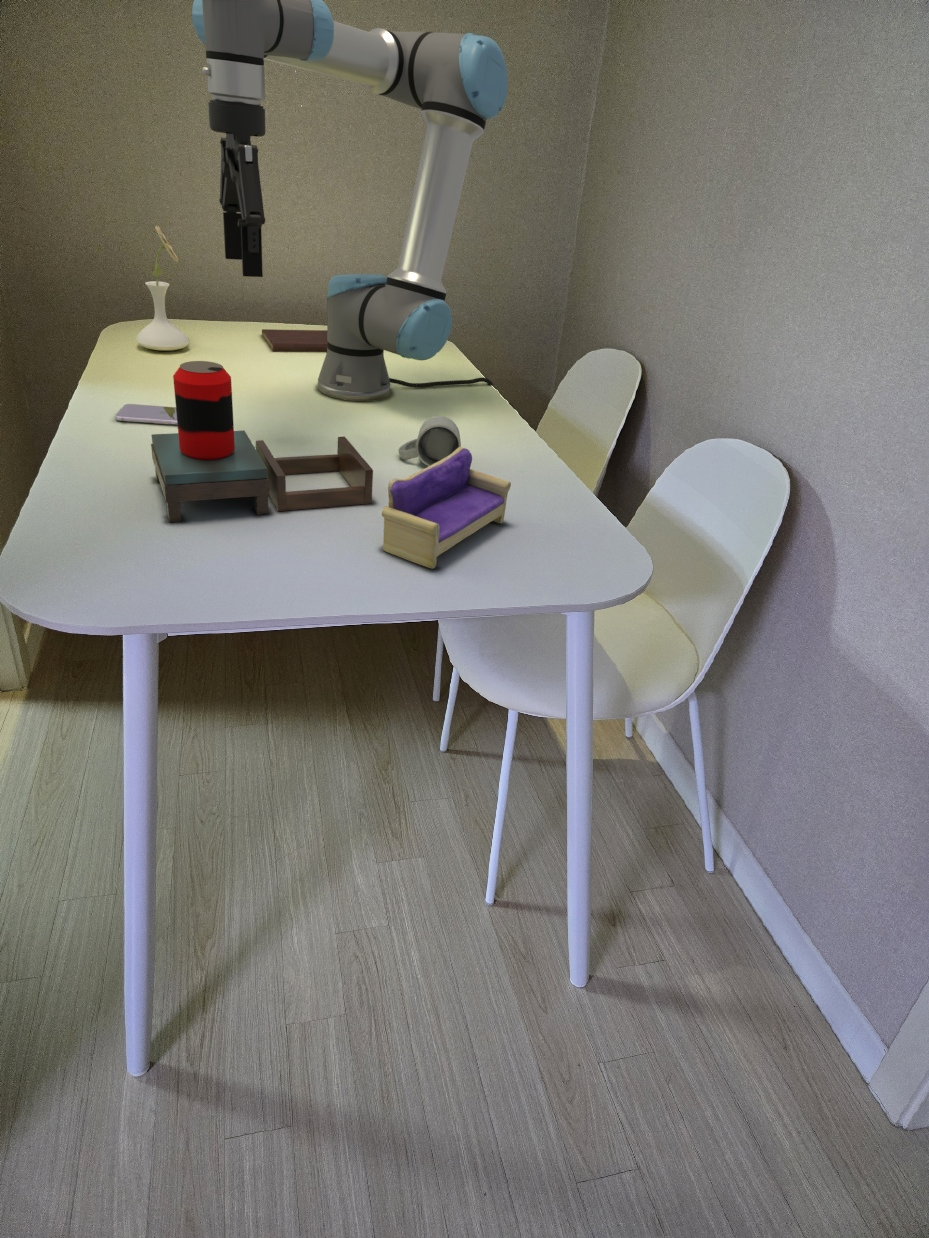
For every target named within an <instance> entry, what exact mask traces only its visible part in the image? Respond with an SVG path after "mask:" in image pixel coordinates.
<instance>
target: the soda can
mask: <svg viewBox="0 0 929 1238" xmlns="http://www.w3.org/2000/svg"><path fill="white" fill-rule="evenodd" d="M172 379H173V390H174V400H175V401H174V402H175V407H176V413H177V424H178V425H177V433H178V435H179V446H180V450H181V452H182V453H183V454H184V455H186V456H188V457H191V458H194V459H200V460H215V459H221V458H225V457H227V456H229V455H231V454H232V453H233V451H234V449H235V443H234V431H235V427H234V408H233V387H232V376H231V375H230V373H228V372H227V370H226V369H225V368H224V366H223V365H222V364H220V363H217V362H213V361H208V360H194V361H193V360H192V361H186V362H182V363H181V364H180V365H179V366H178V368H177V369H176V371H175V372H174V374H173V376H172Z"/></svg>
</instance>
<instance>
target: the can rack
mask: <svg viewBox="0 0 929 1238" xmlns="http://www.w3.org/2000/svg"><path fill="white" fill-rule="evenodd" d="M255 449H256V451H257V453H258V454H259V456H260V458H261V459H262V461H263V463H264V464H265V466H266V468H267V476H268V478H269V492H270V495H268V497H269V498H270V500H271V501H272V503H273V505H274V507H275V509H276V510H277V512H287V511H299V510H308V509H309V510H310V509H311V510H312V509H320V508H321V509H323V508H334V507H345V506H347V507H348V506H357V505H368V504H372V501H373V483H374V482H373V481H374V480H373V478H374V477H373V476H374V469H373V468H372V467H371V466H370V465H369V463H368V462H367V461H366V460H365V458H364V457H363V456H362V455H361V454H360V453H359V452H358V450H357V449H356V448H355V447H354V445H353V444H352V443H351V442H350V441H349V440H348V439H347V437H346V436H343V435H342V436H337V450H336V451H337V453H336V454H319V455H318V454H316V455H301V456H299V455H297V456H282V457H281V456H280V457H274V455H273V453H272V452H271V450H270V449H269V447H268V446H267V444H266V442H265V441H264V439H262V440H261V439H259V440H258V439H257V440H255ZM329 472H331V473H332V472H339V473H340V474H341V476H342V477H343V479H344V480H345V481H346V482H347V483H348V485H349V486H345V487H331V488H329V487H328V488H320V489H319V488H317V489H305V490H292V491H291V490H290V491H286V490H287V487H286V486H287V484H286V480H287V479H286V475H297V474H314V473H329Z"/></svg>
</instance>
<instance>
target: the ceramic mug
mask: <svg viewBox="0 0 929 1238" xmlns="http://www.w3.org/2000/svg"><path fill="white" fill-rule="evenodd" d="M461 440H462V439H461V433H460V430H459V427H458V425H457V424H456V423H455V421H453V420H452V419H451V418H450V417H447V416H444V415H435V416H434V415H433V416H431V417H429V418H428V419H426V420H425V421H424V422H423V423H422V425H421V426H420V427H419V430H418V435H417V438H415V439H413V440H409V441H407V442H405V443H404V444H402V445H401V446H400V447H399V448H398V449H397V450H398V454H399V457H400V459H402V460H411V459H415V458H418V459H419V460H420V461H421V462H422V463H423V464H424V465H425V466H426V467H429V466H431V465H433V464H435V463H436V462H438V461H440V460H442V459H444V458H446V457H447V456H449V455H450V454H452V453H453V452H454V451H455V450H456V449H457V448H459V447H462V443H461V442H462V441H461Z"/></svg>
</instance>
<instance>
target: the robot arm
mask: <svg viewBox="0 0 929 1238" xmlns="http://www.w3.org/2000/svg"><path fill="white" fill-rule="evenodd" d="M191 21H192V25H193V29H194V31H195V34H196V36H197V38H198V39H199V40H200V42H201V43H202V44H204V47H205V58H206V66H203V67H202V69H201V71H202V75H203V76H205V77H207V92H208V94H209V95H212V99H209V101H208V102H207V104H208V121H209V122H208V123H209V129H210V130H211V131H213V132H215V133H220V134H225V137H223V136H221V137H220V140H219V144H220V177H219V178H220V179H219V180H220V181H219V182H220V183H219V185H220V186H219V199H218V201H219V204H220V206H221V209H222V211H223V212H222V219H223V239H224V240H223V241H224V258H225V260H238V261H241V267H242V268H241V269H242V270H241V271H242V277H246V278H247V277H249V278H251V277H252V278H263V277H264V276H263V274H264V273H263V243H262V242H263V241H262V236H263V235H262V227H263V225H265V223H266V217H265V209H264V202H263V193H262V184H261V176H260V168H259V167H260V165H259V154H258V153H259V148H258V145H257V144H256V145H254V144H252V141H251V137H256V138H257V137H259V138H260V137H264V136H265V135H266V108H264V106H263V105H262V104H261V103H262V101H265V100H266V82H265V81H266V80H265V79H266V77H265V76H266V75H265V60H266V61H269V62H274V63H277V64H282V65H285V66H288V67H289V66H290V67H293V68H296V69H301V70H304V71H309V72H313V73H316V74H321V75H325V76H329V77H334V78H338V79H341V80H345V81H350V82H354V83H358V84H362V86H363V87H364V89H366V91H368V93H372V94H374V95H378V96H381V97H385V98H388V99H390V100H394V101H396V102H399V103H401V104H404V105H407V106H410V107H412V108H416V109H420V110H421V111H420V116H421V118H422V120H423V122H424V124H425V126H426V130H425V134H424V138H423V143H422V148H421V152H420V158H419V162H418V168H417V172H416V177H415V182H414V185H413V186H414V187H413V190H412V191H413V192H412V197H411V201H410V205H409V210H408V216H407V219H406V225H405V230H404V234H403V239H402V244H401V249H400V254H399V258H398V263H397V268H395V270H393V271H391V272H390V273H389V274H387V276H385V275H383V274H377V273H347V274H346V273H345V274H337V275H334V276H332V277H331V278H330V280H328V281H329V282H328V287H327V296H326V300H327V301H326V320H327V321H326V324H327V325H326V328H327V329H326V330H327V352H326V353H325V354H326V355H325V357H324V359H323V363H322V366H321V369H320V370H319V371H320V372H319V375H318V378H317V390H318V391H319V392H320V393H322V394H323V395H325V396H327V397H331V398H334V399H338V400H344V401H350V402H351V401H352V402H372V401H379V400H382V399H386V398H387V397H389V396H390V395H391V385H392V384H395V385H396V384H397V385H399V386H403V387H408V388H414V389H415V388H416V389H417V388H418V389H419V388H430V387H441V386H443V387H444V386H457V385H474V384H476V383H486V384H487V386H494V383H493V382H492V381H491V380H490V379H489V378H487V377H476V378H472V379H457V380H439V381H429V382H408V381H405V380H401V379H398V378H397V379H396V378H392V377H390V376H389V372H388V368H387V364H386V361H385V355H384V351H386V352H388V353H392V354H395V355H397V356H400V357H401V358H404V359H408V360H409V359H412V360H416V361H427V360H430V359H432V358H434V357H435V356H436V355H437V354H438V353H440V352H441V350H442V349H443V348H444V347H445V345H446V343H447V341H448V339H449V337H450V335H451V332H452V329H453V328H452V327H453V316H452V310H451V307H450V306H449V304H448V303H446V302H445V301H446V296H447V290H446V288H445V286H444V284H443V280H442V279H443V275H444V270H445V265H446V261H447V257H448V253H449V250H450V249H449V248H450V244H451V240H452V235H453V230H454V226H455V222H456V218H457V213H458V209H459V204H460V200H461V195H462V191H463V187H464V183H465V178H466V173H467V170H468V169H467V168H468V164H469V161H470V157H471V152H472V147H473V143H474V141H475V140H477V139H478V138H480V137H481V136H483V135H484V133H485V129H486V124H487V120H489V119H493V118H495V117H496V116H498V115H499V113H500V112H501V111H502V110H503V107H504V106H505V104H506V99H507V95H508V87H509V85H508V84H509V78H508V77H509V76H508V68H507V65H506V59H505V56H504V54H503V51H502V49H501V47H500V46H499V44H497V42H496V41H495V40H493V39H492V38H491V37H489V36H485V35H480V34H479V35H478V34H475V33H474V32H466V33H457V32H455V33H453V32H452V33H451V32H439V31H438V32H437V31H435V32H433V31H394V30H393V31H392V30H389V29H385V28H381V27H375V28H373V29H371V30H370V31H367V30H365V29H361V28H358V27H355V26H352V25H348V24H345V23H342V22H339V21H336V20H334V18H333V15H332V11H331V10H330V8H329V6H328V4H326V2H324V1H323V0H193V3H192V7H191Z"/></svg>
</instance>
